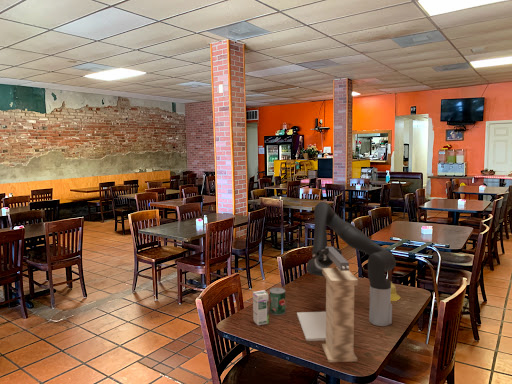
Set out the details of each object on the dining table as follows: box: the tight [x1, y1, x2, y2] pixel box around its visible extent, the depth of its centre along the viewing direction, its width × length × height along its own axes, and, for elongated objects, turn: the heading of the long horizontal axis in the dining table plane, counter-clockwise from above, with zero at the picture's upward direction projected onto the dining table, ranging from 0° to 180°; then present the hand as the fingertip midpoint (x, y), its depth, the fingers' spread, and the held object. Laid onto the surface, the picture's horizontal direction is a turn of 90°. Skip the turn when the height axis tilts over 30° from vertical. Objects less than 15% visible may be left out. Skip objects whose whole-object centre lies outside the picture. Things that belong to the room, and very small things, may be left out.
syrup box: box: [252, 289, 270, 326], centre depth 175 cm, size 6×6×14 cm
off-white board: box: [296, 311, 326, 342], centre depth 171 cm, size 18×26×1 cm
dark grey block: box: [325, 246, 350, 271], centre depth 148 cm, size 3×26×3 cm, turn 3°
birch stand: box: [321, 267, 359, 363], centre depth 147 cm, size 11×15×32 cm
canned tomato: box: [269, 287, 287, 316], centre depth 187 cm, size 8×8×11 cm
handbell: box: [386, 251, 401, 301], centre depth 202 cm, size 12×12×25 cm
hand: (332, 249), depth 156 cm, fingers closed on dark grey block, 3 cm apart
